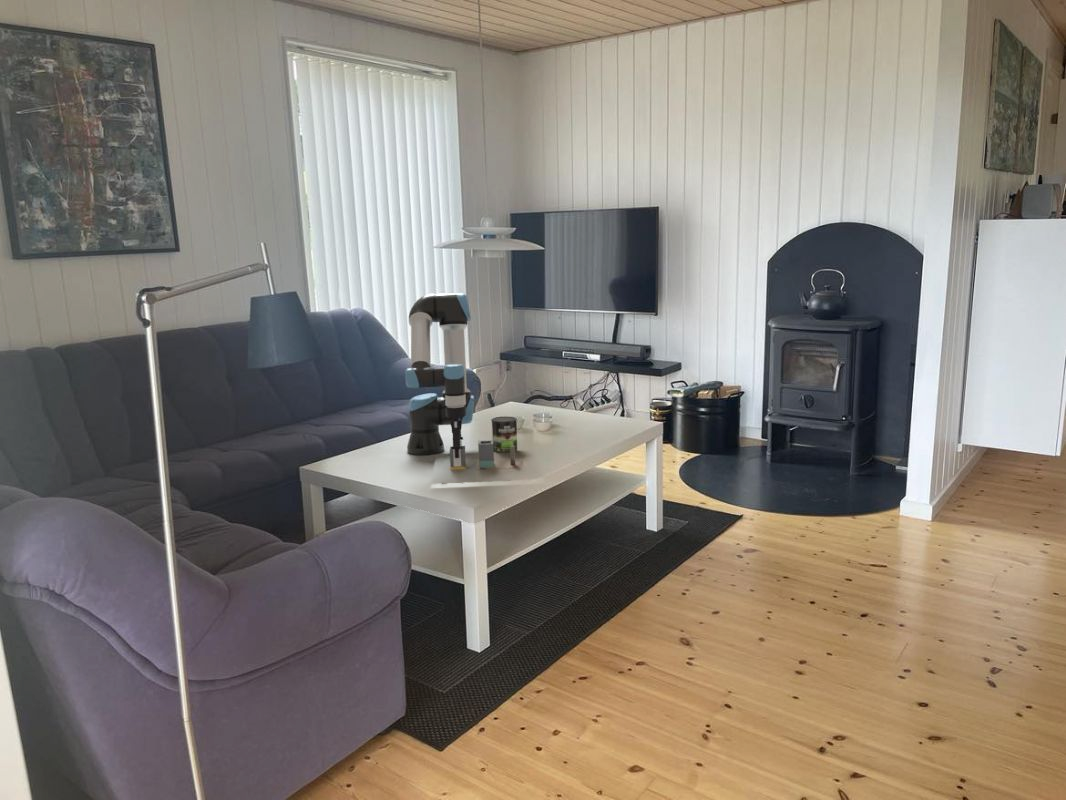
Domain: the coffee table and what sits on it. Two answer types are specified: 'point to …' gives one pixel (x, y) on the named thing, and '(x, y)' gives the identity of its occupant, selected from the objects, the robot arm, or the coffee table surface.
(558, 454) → the coffee table surface
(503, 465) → the pin board
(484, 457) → the sleeve teal
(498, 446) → the coffee can
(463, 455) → the sleeve ochre
